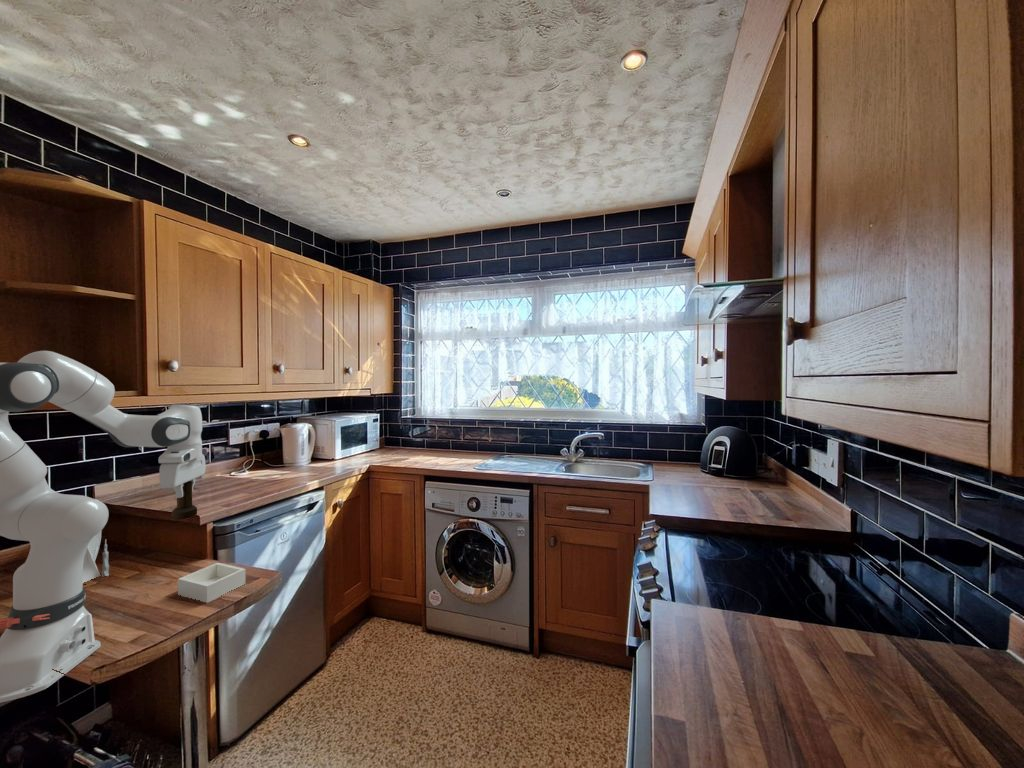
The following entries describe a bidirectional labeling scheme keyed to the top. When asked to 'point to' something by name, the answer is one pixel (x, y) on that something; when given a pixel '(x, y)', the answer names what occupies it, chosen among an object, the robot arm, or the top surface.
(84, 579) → the skyscraper
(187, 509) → the dark brown tall piece
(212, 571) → the open rectangular tray
